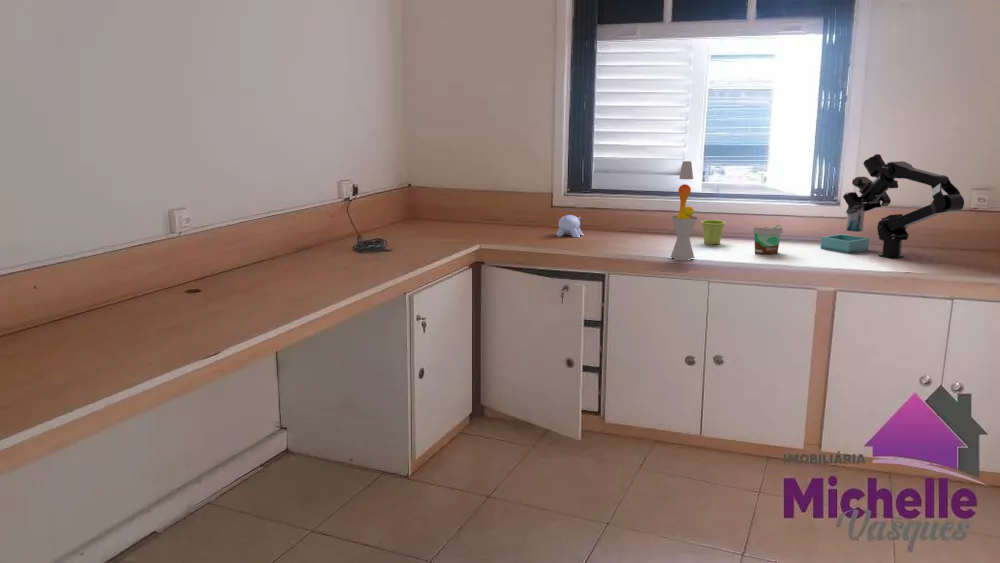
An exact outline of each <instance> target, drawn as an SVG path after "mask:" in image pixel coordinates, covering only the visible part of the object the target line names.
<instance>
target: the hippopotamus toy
mask: <svg viewBox="0 0 1000 563" xmlns="http://www.w3.org/2000/svg"><path fill="white" fill-rule="evenodd" d="M580 220H581V216H578V217H577V216H576V215H573V214H565V215H563V216H562V217H561V218H559V220H558V223H557V225H558V230H557V232H556V233H555V235H557V236H556V237H564V236H565V235H564V234H566V235H567V234H568V233H570V235H571V237H572V238H575V237H578V238H580V235H583V236H584V233H583V232H582V229H581V228H580V226H581V221H580ZM563 235H564V236H563Z"/></svg>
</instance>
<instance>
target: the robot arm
mask: <svg viewBox="0 0 1000 563" xmlns="http://www.w3.org/2000/svg"><path fill="white" fill-rule="evenodd" d="M881 155H882V154H878V153H876V154H874V155H873V156H871V157H869V158H867V159H864V162H862V165H863V167H864V168H865V169H866V171H867V173H868V174H869V176H870V177H871V178H875V179H874V180H873V181H872V180H871V179H870V178H868V177H866V176H857V177H854V178H853V179H852V182H851V184H852V185H853V186H854V187H856V188H858V189H859V190H858V192H859V193H860V196H859V195H858V193H857V192H855V191H849V192H848V191H847V192H846V193H845V194H843V195H842V198H843V199H844V201H845V203H846V204H847V209H846V212H845V213H846V215H847V214H850V213H852V212H854V211H857V210H859V209H861V208H860V206H861V204H862V203H866V206H865V213H866V212H870V211H872V210H874V209H878V208H879V209H880V208H881V207H888V206H889V205H890V204H891V201H892V200H891V198H890V197H889V195H888V193H887V191H888V190H889V189H898V188H899V184H898V182H899V181H898V180H896V179H901V180H902V179H903V180H904V179H906V180H909V181H913V182H916V183H920V184H924V185H927V186H930V187H931V191H932V194H931V196H932V199H933V200H931V203H930V204H928V205H926V206H923V207H920V208H918V209H916V210H913V211H911V212H909V213H908V212H907V213H906V214H904V215H903V214H902V213H898V214H889V215H887V216H885V217H881V218H880V220H879V221H878V222H877V223H878V224H877V228H876V229H877V234H878V240H880V241H883V245H882V252H881V253H879V254H878V255H877V256H879V257H882V258H883V257H884V258H890V259H899V258H900V259H901V258H904V257H905V255H903V254H902V245H903V241H908V239H909V233H908V232H907V230H906V229H907V228H908V227H910V226H912V225H915V224H917V223H921V222H923V221H925V220H928V219H931V218H932V217H935V216H938V215H941V214H942V215H943V214H948V213H955V212H960V211H962V210H963V209H964V206H965V200H964V196H962V194H961V192H960V190H959V189H958V188H957V187H955V185H954V184H953V183H952V182H951V180H950V178H949V177H948V176H947V175H945V174H944V175H943V174H942V175H941V174H937V173H934V172H931V171H927V170H923V169H920V168H915V167H913V165H912V164H910V163H908V162H907V161H905V160H904V161H903V160H901V161H898V160H897V161H888V162H887V163H885V161H884V159H883V158H882V156H881ZM942 190H943V191H942ZM943 192H945V193H946V194H943Z"/></svg>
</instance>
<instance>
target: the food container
mask: <svg viewBox="0 0 1000 563" xmlns="http://www.w3.org/2000/svg"><path fill="white" fill-rule="evenodd" d="M783 231H784V230H783V226H781V225H779V224H777V225H776V226H775V227H756V226H755V227H754V228H753V232H752V233H753V234H754V254H756V255H763V256H766V255H767V256H772V255H777V254H779V252H778V251H779V246H780V242H781V234H783V233H784V232H783Z"/></svg>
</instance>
